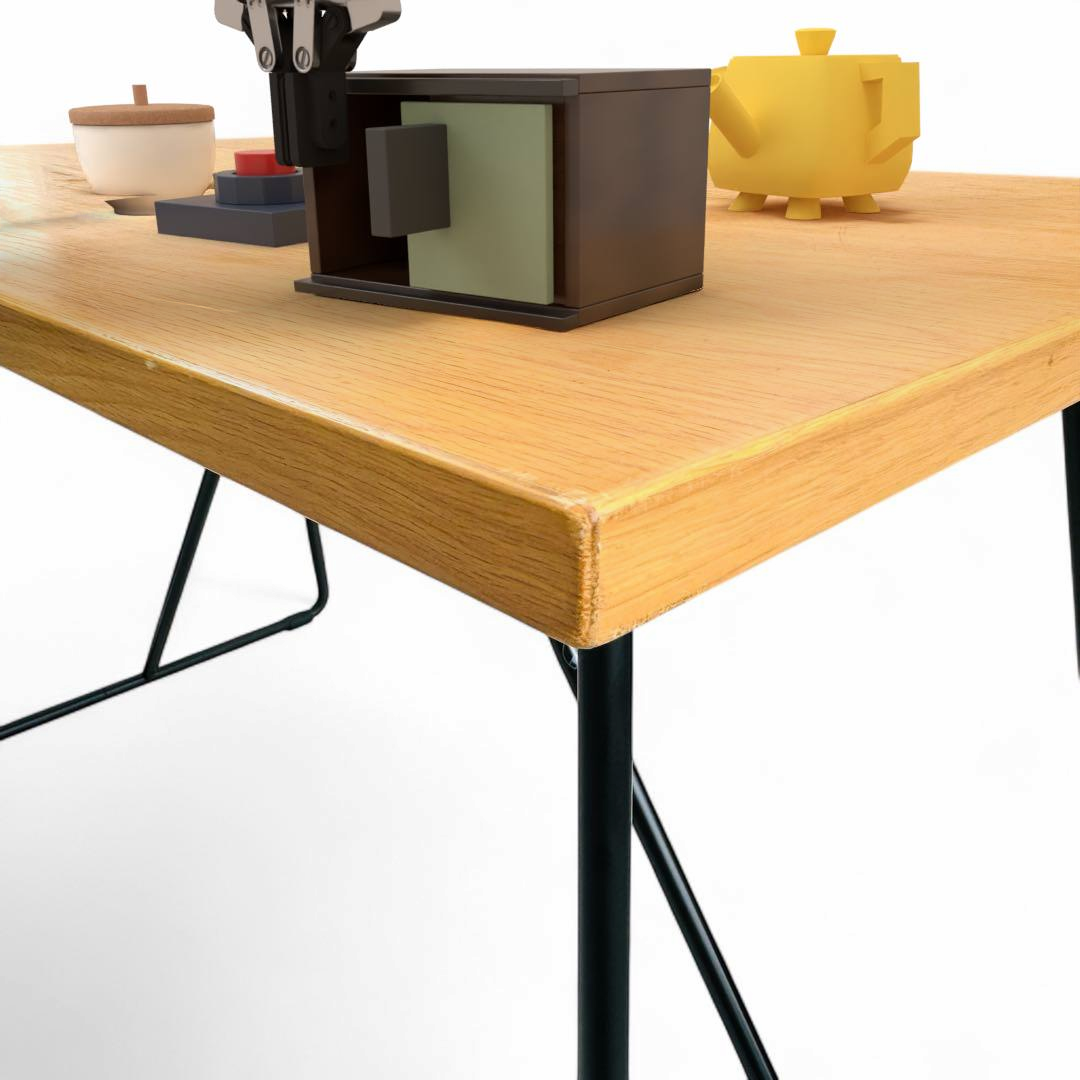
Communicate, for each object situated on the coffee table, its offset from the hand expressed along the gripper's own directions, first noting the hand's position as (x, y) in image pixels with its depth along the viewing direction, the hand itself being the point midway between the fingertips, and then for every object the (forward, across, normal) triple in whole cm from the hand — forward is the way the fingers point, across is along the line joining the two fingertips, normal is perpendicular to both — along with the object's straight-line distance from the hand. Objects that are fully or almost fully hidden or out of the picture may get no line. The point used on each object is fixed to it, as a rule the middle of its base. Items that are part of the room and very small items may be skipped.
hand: (313, 163), depth 56 cm
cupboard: (+7, +4, +9) cm, 12 cm away
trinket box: (+7, -40, +20) cm, 45 cm away
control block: (+7, -23, +17) cm, 30 cm away
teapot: (+7, +2, +46) cm, 47 cm away
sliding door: (+6, +7, +1) cm, 9 cm away
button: (+3, -23, +17) cm, 29 cm away
